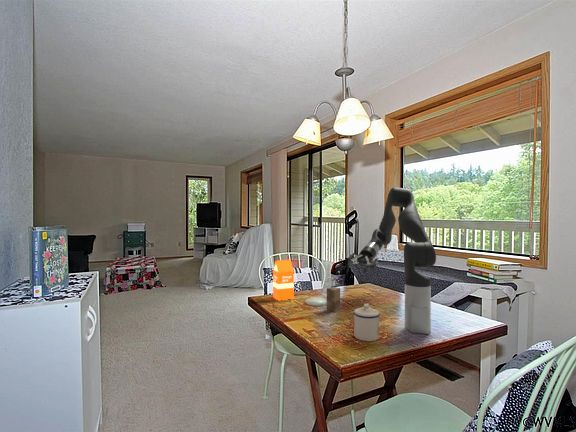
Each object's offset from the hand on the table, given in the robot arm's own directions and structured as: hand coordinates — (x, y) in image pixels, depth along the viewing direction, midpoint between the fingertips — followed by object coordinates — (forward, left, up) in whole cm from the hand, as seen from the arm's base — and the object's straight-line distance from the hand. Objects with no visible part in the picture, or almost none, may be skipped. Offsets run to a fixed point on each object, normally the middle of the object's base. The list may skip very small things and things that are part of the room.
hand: (356, 268), depth 155 cm
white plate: (-3, +19, -17) cm, 26 cm away
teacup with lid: (-41, -2, -17) cm, 45 cm away
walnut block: (-13, +10, -17) cm, 24 cm away
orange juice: (+2, +37, -17) cm, 41 cm away
